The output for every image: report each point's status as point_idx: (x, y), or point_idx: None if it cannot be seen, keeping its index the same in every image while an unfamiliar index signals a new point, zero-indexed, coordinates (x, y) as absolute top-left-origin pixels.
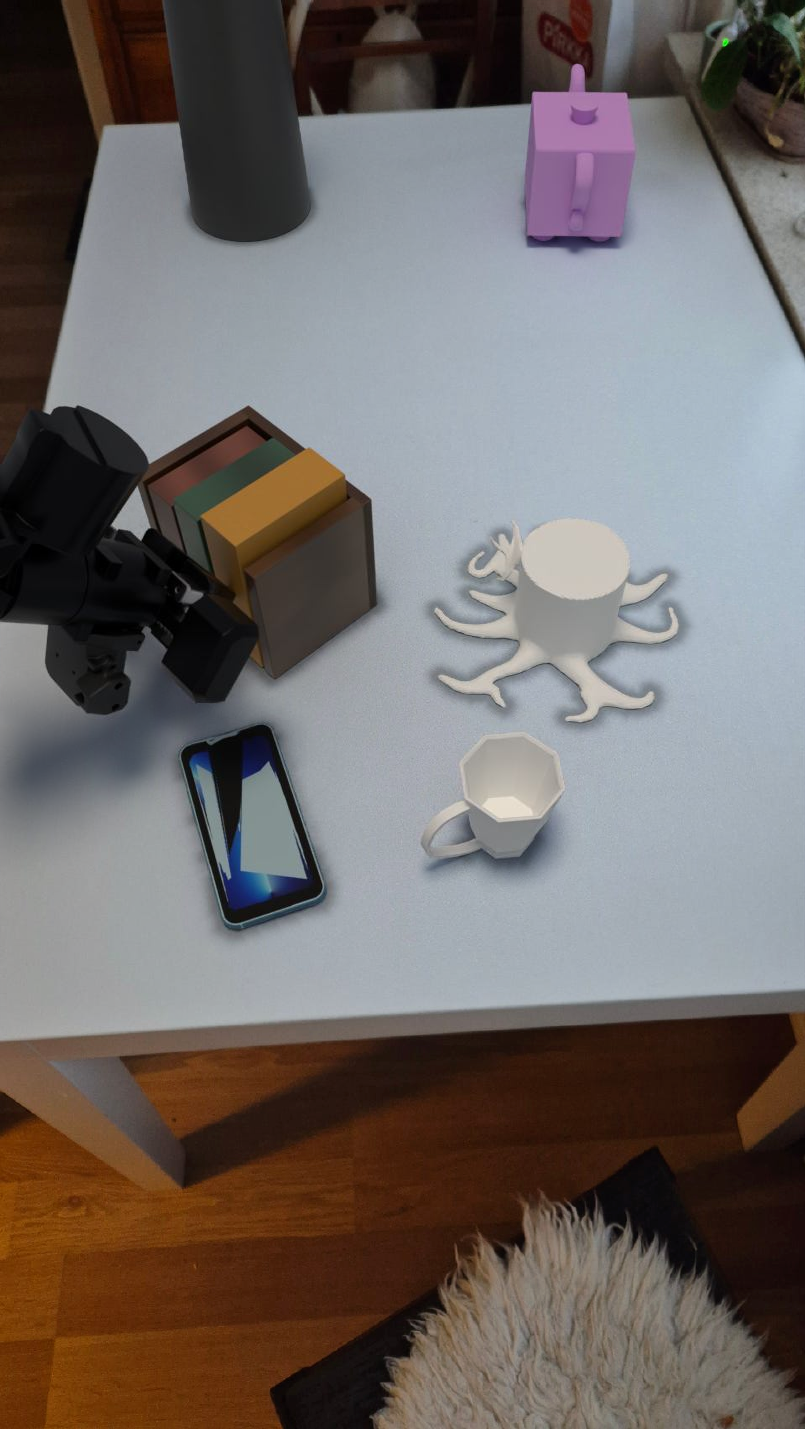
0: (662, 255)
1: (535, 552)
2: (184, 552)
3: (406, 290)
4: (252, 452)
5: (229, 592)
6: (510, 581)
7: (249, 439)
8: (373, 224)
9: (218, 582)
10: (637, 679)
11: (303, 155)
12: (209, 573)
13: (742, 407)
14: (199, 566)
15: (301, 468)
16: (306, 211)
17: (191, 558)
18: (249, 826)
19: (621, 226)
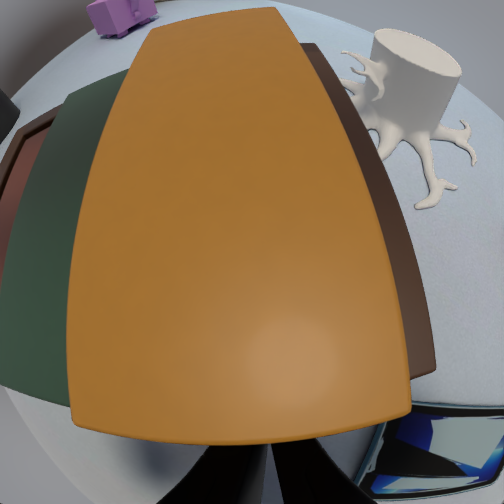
0: (178, 10)
1: (407, 54)
2: (170, 500)
3: (81, 80)
4: (50, 130)
5: None
6: None
7: (37, 143)
8: (48, 87)
9: (335, 464)
10: (450, 118)
11: (5, 94)
12: (251, 448)
13: (284, 11)
14: (240, 485)
15: (185, 37)
16: (18, 111)
17: (201, 494)
18: (463, 455)
19: (155, 9)
